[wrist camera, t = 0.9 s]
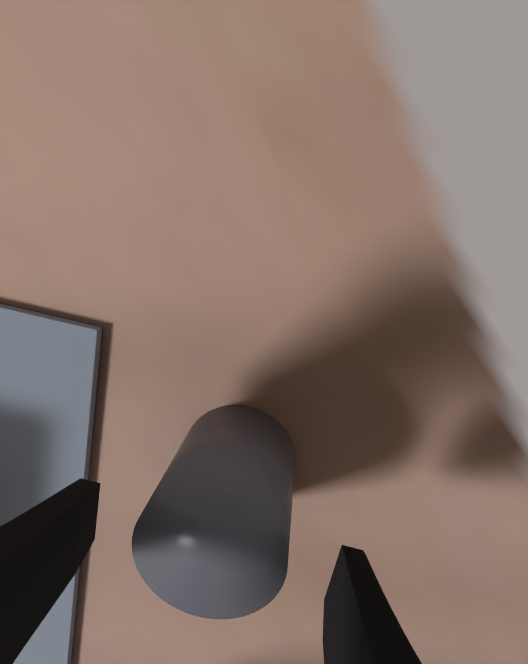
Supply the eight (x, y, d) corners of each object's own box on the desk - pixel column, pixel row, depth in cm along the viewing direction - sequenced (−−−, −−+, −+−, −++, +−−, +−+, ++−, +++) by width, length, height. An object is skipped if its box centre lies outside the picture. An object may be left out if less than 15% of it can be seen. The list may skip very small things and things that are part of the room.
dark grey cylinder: (281, 515, 17) (269, 635, 12) (177, 489, 17) (124, 596, 12) (306, 420, 15) (304, 511, 11) (193, 393, 16) (141, 470, 11)
